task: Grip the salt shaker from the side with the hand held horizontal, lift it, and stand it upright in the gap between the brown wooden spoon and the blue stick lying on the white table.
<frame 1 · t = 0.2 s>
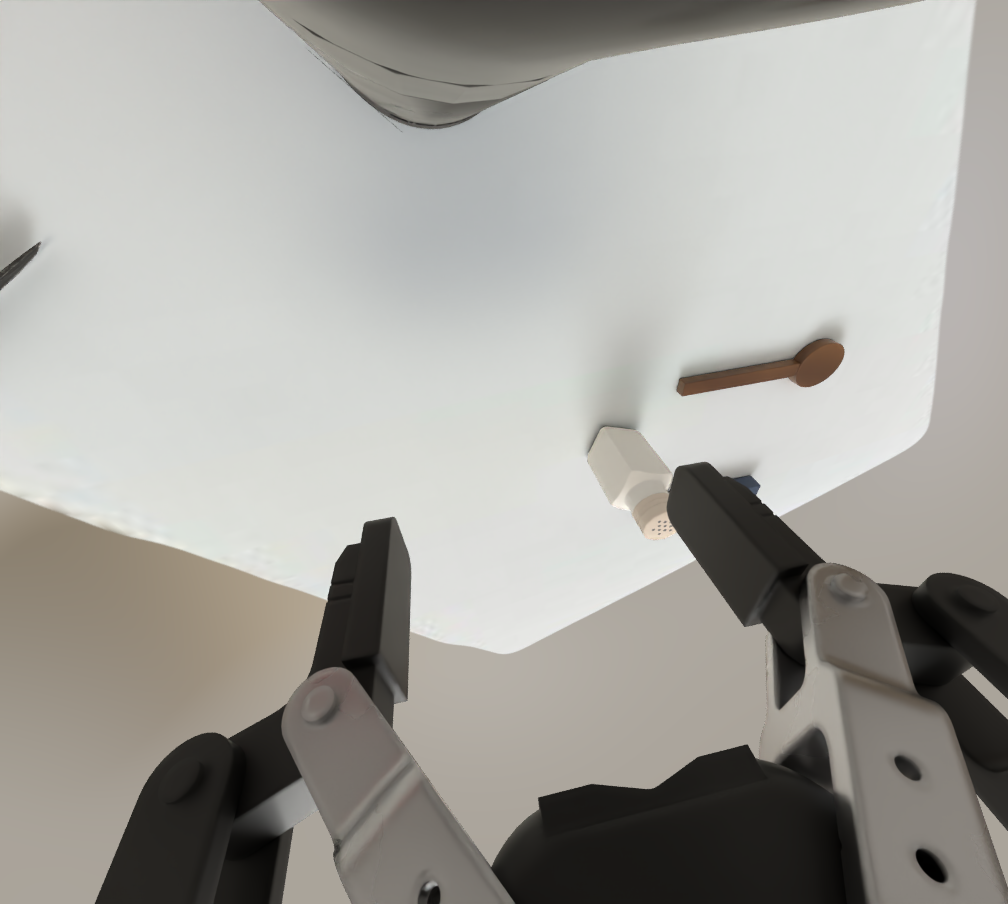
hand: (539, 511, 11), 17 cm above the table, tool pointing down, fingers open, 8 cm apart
salt shaker: (610, 442, 34), on the table
blue stick: (692, 491, 40), on the table
wooden spoon: (754, 371, 31), on the table
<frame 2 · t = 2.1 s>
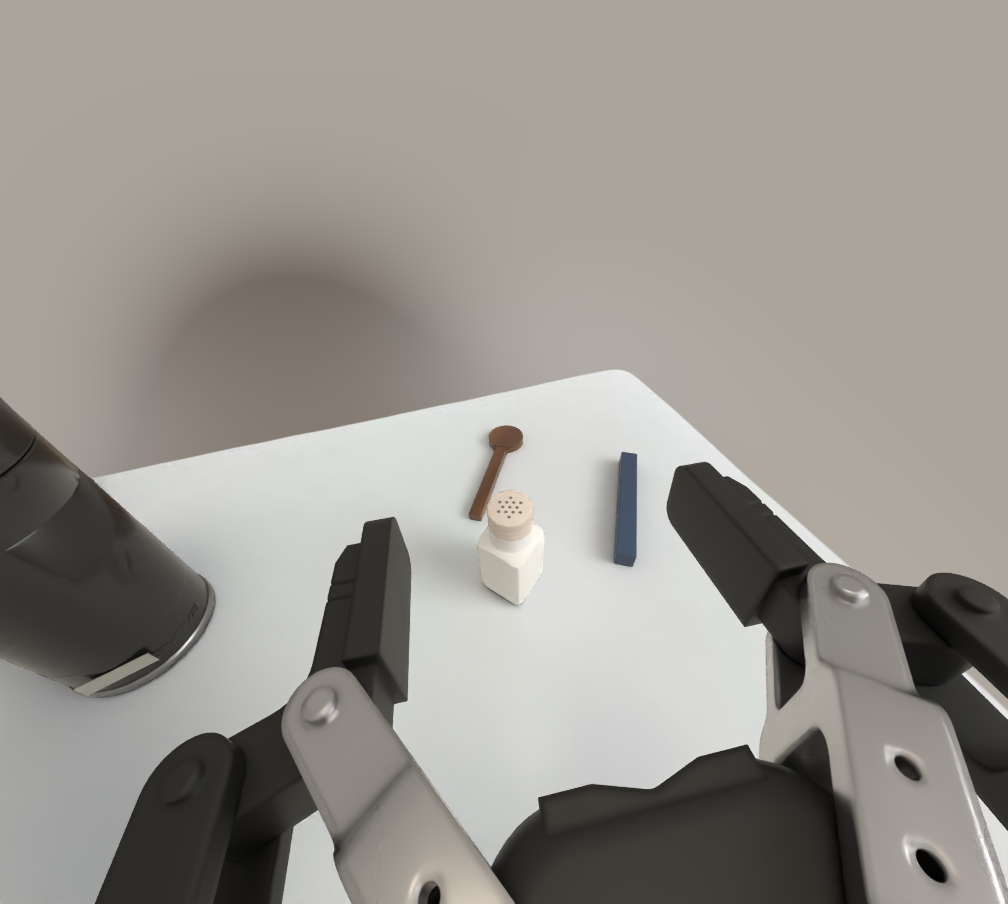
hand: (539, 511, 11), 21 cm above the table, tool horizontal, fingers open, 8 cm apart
salt shaker: (512, 580, 32), on the table
blue stick: (625, 507, 37), on the table
wooden spoon: (494, 471, 42), on the table
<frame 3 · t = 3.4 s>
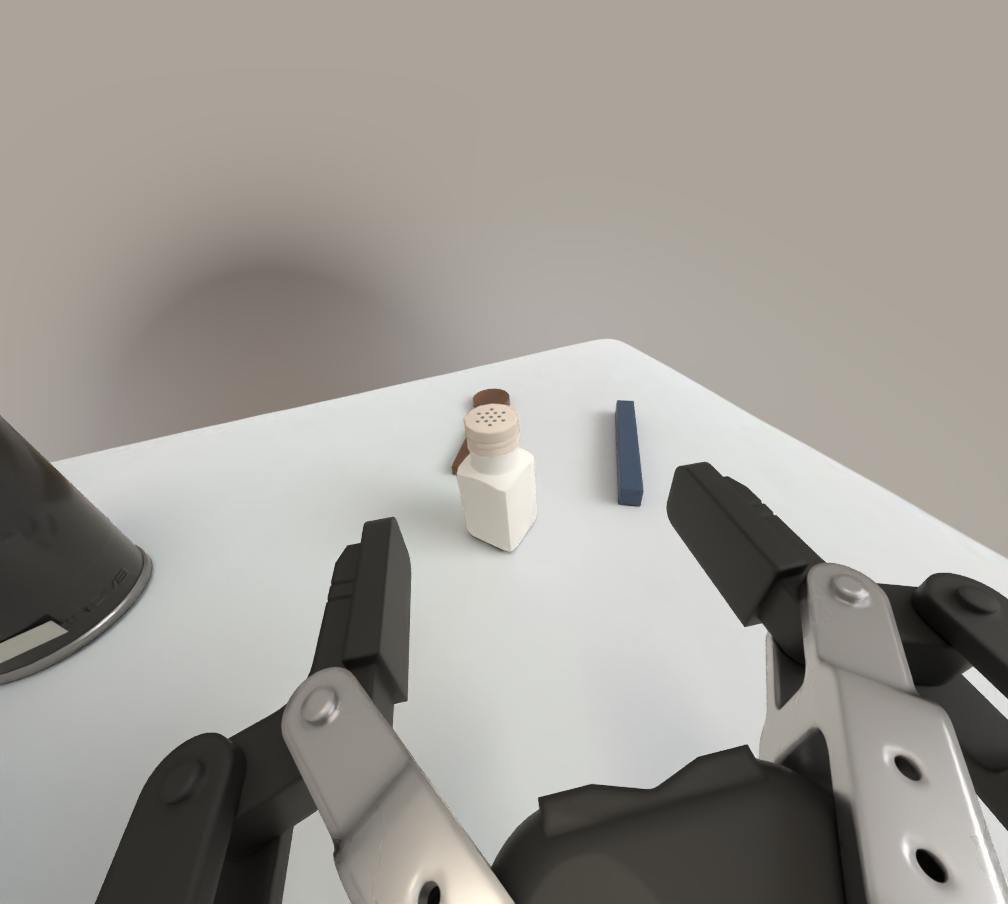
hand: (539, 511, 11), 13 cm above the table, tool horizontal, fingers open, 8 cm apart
salt shaker: (503, 529, 28), on the table
blue stick: (625, 452, 33), on the table
wooden spoon: (479, 430, 38), on the table
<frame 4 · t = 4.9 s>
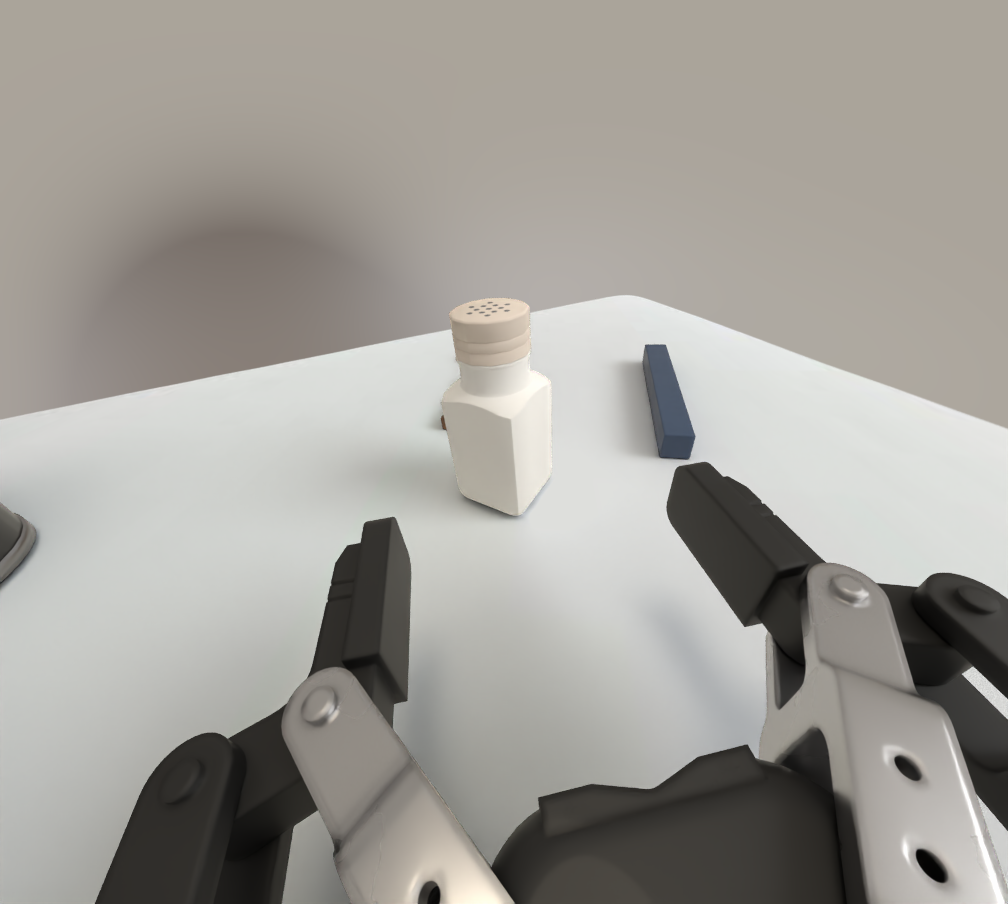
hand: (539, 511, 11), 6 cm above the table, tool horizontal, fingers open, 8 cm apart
salt shaker: (507, 489, 21), on the table
blue stick: (661, 401, 26), on the table
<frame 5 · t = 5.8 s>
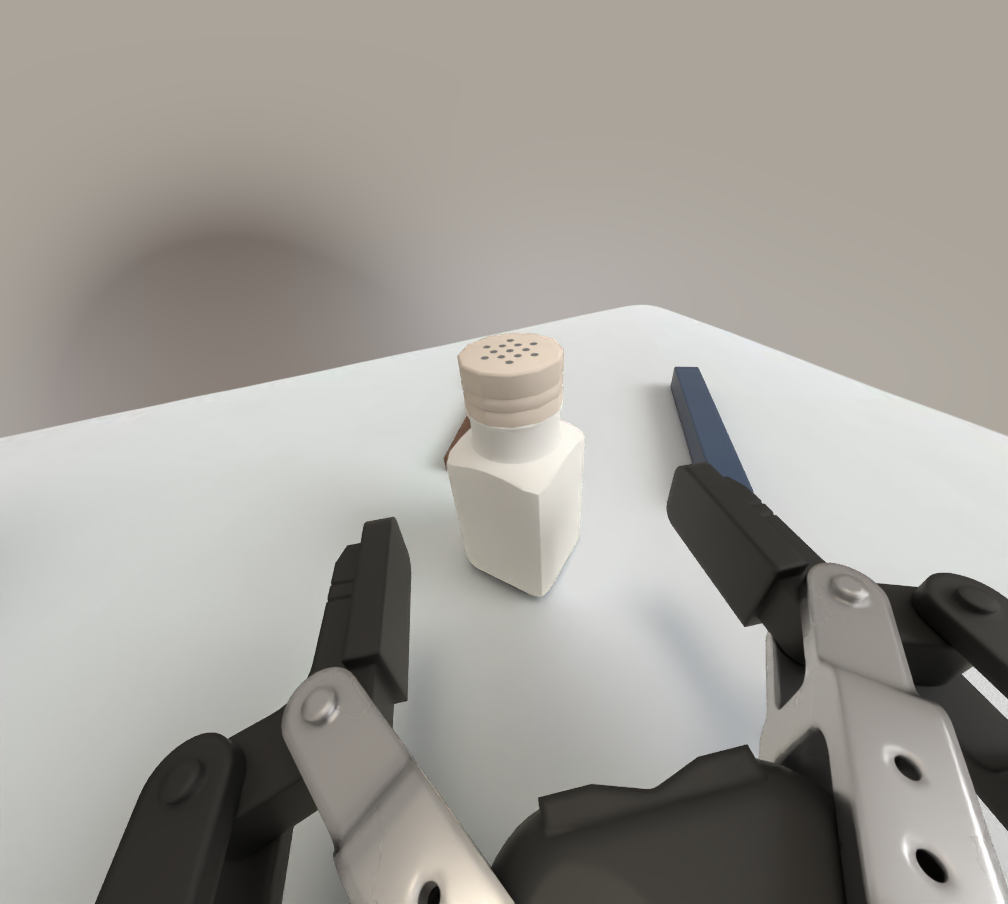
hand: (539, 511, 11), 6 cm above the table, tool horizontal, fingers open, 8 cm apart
salt shaker: (525, 555, 17), on the table
blue stick: (698, 436, 23), on the table
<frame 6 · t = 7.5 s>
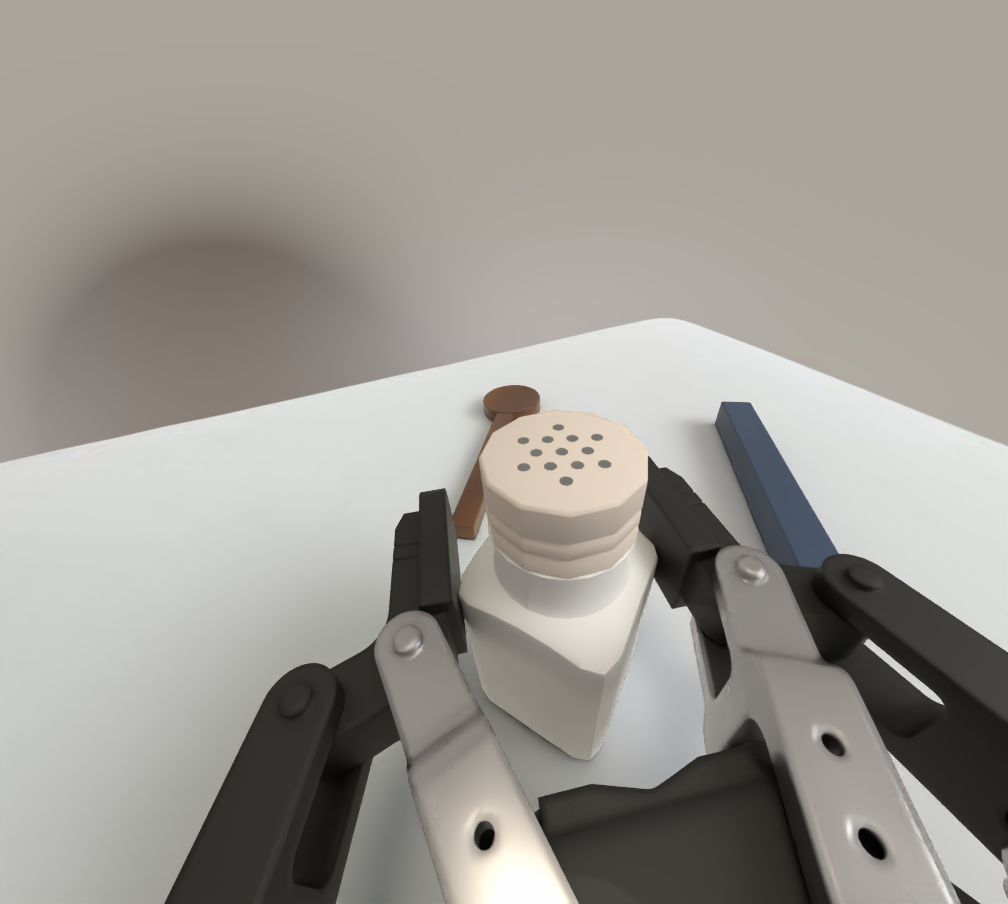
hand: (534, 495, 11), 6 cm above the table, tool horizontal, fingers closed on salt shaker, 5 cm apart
salt shaker: (558, 676, 13), on the table, touching gripper
blue stick: (761, 495, 19), on the table
wooden spoon: (495, 452, 23), on the table
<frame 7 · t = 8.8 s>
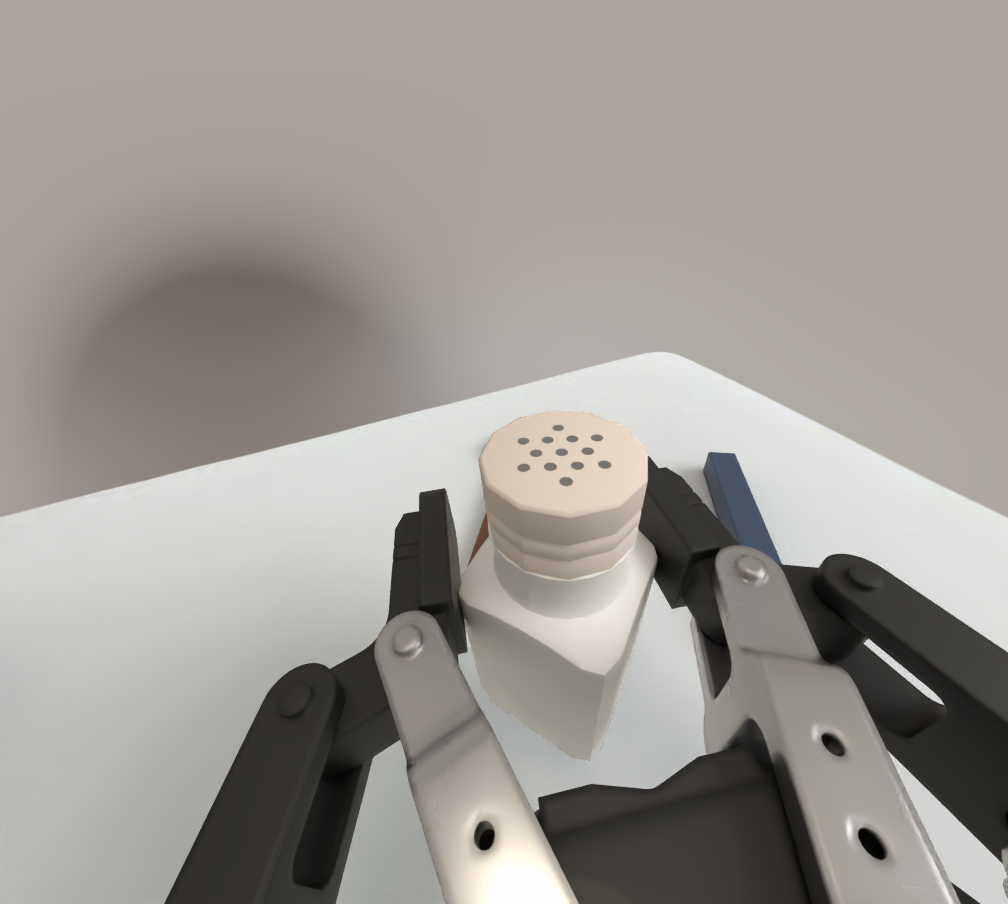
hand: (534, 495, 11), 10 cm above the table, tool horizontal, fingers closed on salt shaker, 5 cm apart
salt shaker: (558, 676, 13), point 4 cm above the table, touching gripper
blue stick: (741, 546, 21), on the table
wooden spoon: (503, 498, 25), on the table
when the fingers open (6 cm above the table, at t = 15.1 s): salt shaker stays where it is, on the table.
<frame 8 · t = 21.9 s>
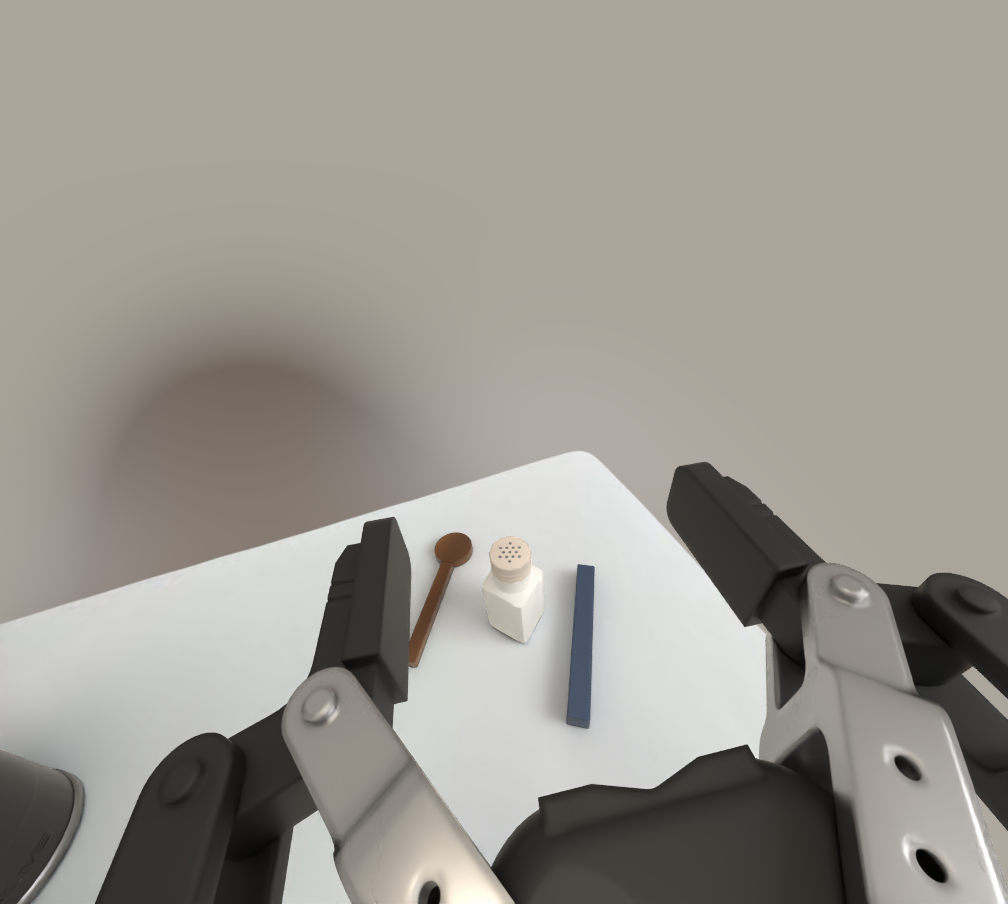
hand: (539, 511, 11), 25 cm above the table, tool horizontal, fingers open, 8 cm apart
salt shaker: (517, 619, 35), on the table
blue stick: (582, 639, 32), on the table
wooden spoon: (438, 594, 37), on the table
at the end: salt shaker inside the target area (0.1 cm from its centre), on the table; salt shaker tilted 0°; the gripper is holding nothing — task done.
